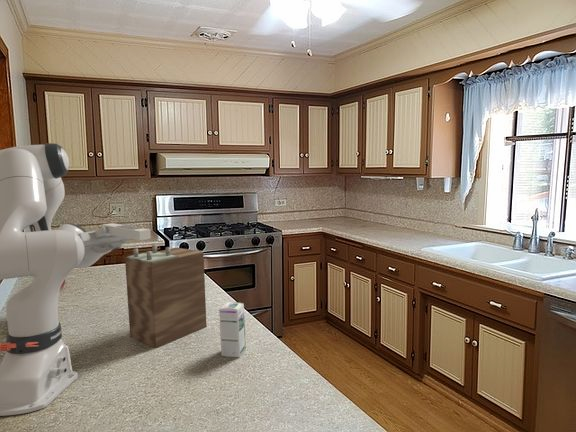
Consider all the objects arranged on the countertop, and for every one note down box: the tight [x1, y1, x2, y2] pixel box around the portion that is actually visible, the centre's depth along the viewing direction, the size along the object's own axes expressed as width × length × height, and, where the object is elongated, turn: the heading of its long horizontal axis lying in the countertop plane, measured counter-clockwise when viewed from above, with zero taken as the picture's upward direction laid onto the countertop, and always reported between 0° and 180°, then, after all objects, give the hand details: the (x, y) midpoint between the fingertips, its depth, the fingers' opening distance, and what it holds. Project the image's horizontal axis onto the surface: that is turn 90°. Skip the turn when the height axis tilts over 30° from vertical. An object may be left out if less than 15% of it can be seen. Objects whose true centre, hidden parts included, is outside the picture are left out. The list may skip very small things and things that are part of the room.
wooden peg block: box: [124, 244, 208, 349], centre depth 137 cm, size 14×20×29 cm
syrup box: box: [218, 301, 247, 358], centre depth 122 cm, size 6×6×14 cm
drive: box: [101, 222, 152, 242], centre depth 140 cm, size 22×4×3 cm, turn 53°
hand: (113, 227), depth 144 cm, fingers closed on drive, 4 cm apart
